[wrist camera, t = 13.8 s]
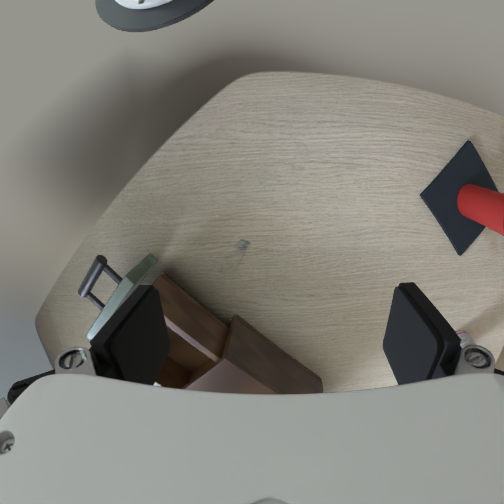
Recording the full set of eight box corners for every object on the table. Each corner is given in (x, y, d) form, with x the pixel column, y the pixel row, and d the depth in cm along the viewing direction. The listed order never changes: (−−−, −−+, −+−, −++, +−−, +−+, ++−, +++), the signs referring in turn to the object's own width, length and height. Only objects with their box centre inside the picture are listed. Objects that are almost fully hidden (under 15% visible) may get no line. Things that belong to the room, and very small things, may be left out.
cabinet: (178, 364, 37) (161, 405, 30) (236, 314, 33) (225, 358, 26) (259, 416, 40) (255, 457, 32) (321, 378, 36) (327, 422, 29)
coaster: (419, 195, 27) (421, 195, 26) (467, 140, 24) (470, 140, 23) (458, 254, 29) (460, 256, 28) (501, 202, 26) (503, 203, 25)
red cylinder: (451, 199, 26) (517, 226, 15) (470, 176, 25) (537, 195, 14) (466, 223, 27) (528, 258, 16) (484, 202, 25) (547, 228, 15)
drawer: (86, 289, 33) (60, 312, 28) (124, 228, 30) (93, 246, 24) (192, 375, 37) (180, 408, 31) (246, 332, 33) (240, 367, 27)
